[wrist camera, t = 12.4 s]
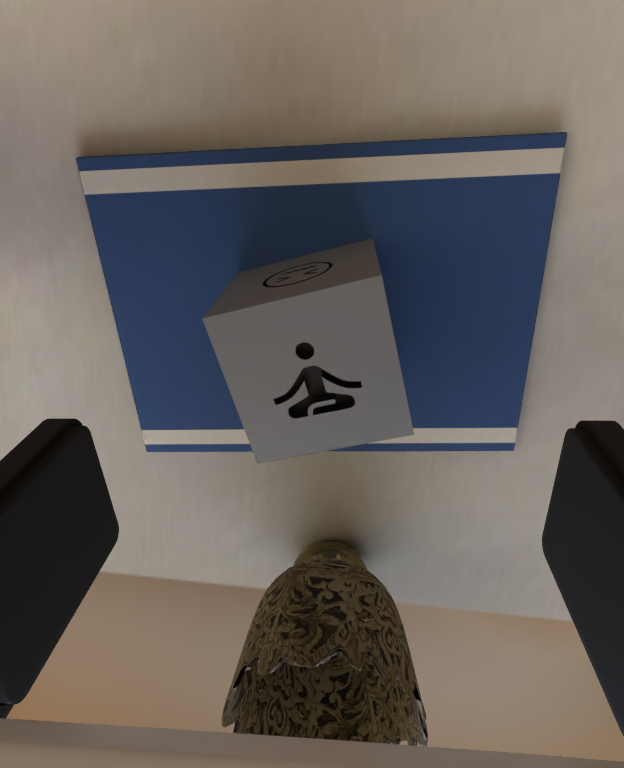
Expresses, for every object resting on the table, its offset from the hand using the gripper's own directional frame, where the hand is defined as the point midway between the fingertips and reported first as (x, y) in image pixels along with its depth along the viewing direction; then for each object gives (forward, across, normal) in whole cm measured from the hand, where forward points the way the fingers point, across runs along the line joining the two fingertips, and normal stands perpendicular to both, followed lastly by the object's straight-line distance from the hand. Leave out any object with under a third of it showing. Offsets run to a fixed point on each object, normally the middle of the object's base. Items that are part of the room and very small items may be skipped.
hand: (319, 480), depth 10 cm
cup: (+10, +1, +13) cm, 17 cm away
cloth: (+10, +1, 0) cm, 10 cm away
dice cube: (+10, +1, 0) cm, 10 cm away
